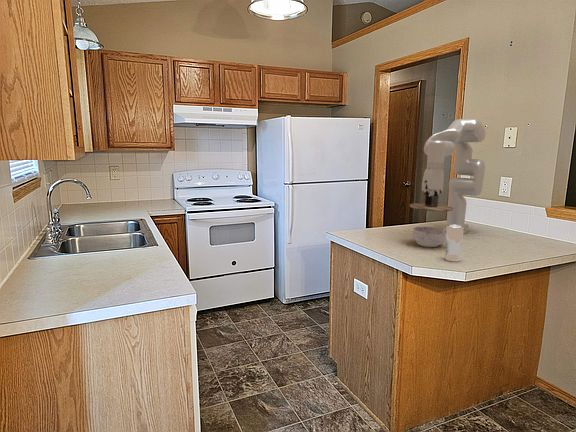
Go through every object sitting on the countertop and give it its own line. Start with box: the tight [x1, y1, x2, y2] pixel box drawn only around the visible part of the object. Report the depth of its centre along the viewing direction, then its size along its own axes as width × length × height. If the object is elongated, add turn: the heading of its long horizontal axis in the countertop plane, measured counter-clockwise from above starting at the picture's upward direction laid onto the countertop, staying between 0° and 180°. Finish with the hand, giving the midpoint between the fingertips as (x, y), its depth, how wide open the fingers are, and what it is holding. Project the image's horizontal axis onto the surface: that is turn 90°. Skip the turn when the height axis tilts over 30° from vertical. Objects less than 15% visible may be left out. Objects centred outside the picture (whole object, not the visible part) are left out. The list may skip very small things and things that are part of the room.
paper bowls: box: [411, 226, 446, 248], centre depth 192 cm, size 15×15×8 cm
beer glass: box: [444, 225, 464, 263], centre depth 167 cm, size 7×7×15 cm
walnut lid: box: [409, 195, 453, 212], centre depth 189 cm, size 20×20×6 cm
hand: (431, 203), depth 189 cm, fingers closed on walnut lid, 4 cm apart
